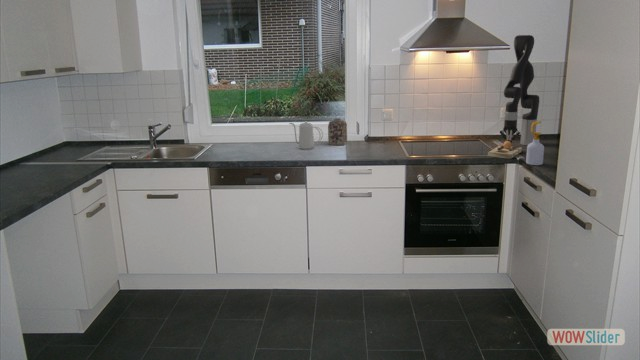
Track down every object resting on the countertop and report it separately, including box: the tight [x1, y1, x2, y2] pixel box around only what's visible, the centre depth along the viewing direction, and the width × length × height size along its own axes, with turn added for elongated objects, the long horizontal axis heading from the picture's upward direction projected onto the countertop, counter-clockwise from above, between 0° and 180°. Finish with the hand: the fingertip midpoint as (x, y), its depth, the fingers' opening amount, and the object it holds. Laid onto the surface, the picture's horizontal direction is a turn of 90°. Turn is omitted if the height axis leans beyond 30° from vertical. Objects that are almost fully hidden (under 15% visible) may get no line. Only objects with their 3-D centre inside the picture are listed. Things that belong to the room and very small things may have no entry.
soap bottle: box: [525, 120, 545, 166], centre depth 297 cm, size 9×9×25 cm
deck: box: [487, 144, 523, 160], centre depth 326 cm, size 24×14×4 cm, turn 144°
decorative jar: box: [327, 117, 348, 146], centre depth 370 cm, size 12×12×18 cm
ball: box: [502, 140, 513, 149], centre depth 328 cm, size 5×5×5 cm
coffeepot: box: [288, 120, 324, 150], centre depth 358 cm, size 11×25×19 cm, turn 68°
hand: (509, 145), depth 332 cm, fingers closed
